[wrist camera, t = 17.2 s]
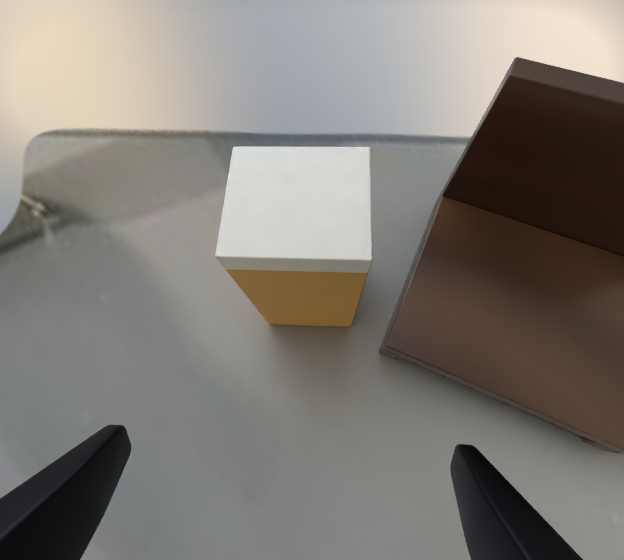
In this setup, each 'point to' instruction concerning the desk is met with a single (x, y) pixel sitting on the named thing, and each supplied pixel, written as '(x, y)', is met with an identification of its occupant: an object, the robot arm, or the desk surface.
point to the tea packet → (299, 231)
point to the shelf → (530, 257)
